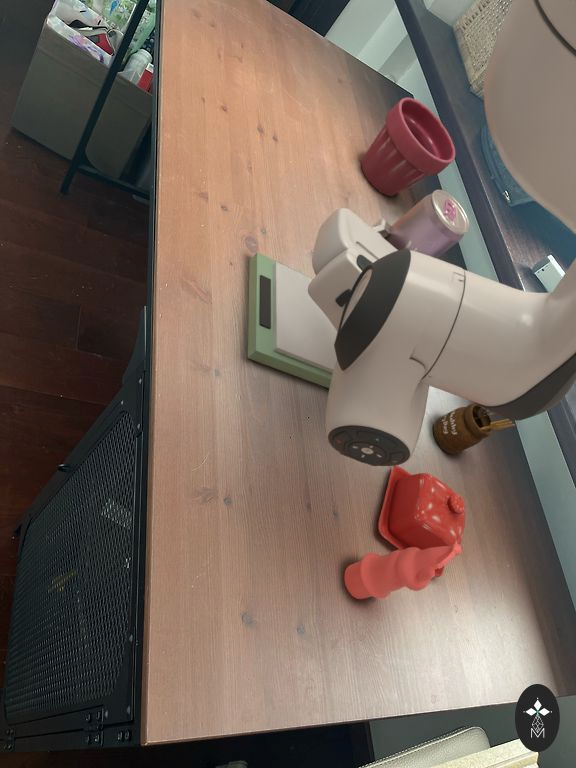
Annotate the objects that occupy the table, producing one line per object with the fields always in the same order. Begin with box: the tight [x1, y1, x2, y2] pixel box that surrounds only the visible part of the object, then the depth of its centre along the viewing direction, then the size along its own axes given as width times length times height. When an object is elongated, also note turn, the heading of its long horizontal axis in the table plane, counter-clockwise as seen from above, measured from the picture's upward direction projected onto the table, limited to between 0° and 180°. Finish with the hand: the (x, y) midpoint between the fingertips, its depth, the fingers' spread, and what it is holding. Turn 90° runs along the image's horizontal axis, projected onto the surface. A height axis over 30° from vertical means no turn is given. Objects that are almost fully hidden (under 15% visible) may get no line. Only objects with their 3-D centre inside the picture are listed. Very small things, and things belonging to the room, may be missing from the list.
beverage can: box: [384, 189, 471, 259], centre depth 70 cm, size 6×6×15 cm
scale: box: [246, 252, 337, 389], centre depth 83 cm, size 17×16×3 cm
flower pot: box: [360, 97, 456, 197], centre depth 113 cm, size 14×14×13 cm
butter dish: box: [377, 465, 466, 577], centre depth 78 cm, size 12×12×8 cm
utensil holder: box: [432, 402, 516, 455], centre depth 89 cm, size 6×6×12 cm
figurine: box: [343, 543, 463, 600], centre depth 66 cm, size 5×5×15 cm
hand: (405, 245), depth 71 cm, fingers closed on beverage can, 6 cm apart
